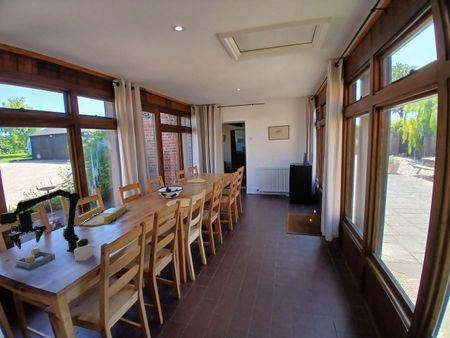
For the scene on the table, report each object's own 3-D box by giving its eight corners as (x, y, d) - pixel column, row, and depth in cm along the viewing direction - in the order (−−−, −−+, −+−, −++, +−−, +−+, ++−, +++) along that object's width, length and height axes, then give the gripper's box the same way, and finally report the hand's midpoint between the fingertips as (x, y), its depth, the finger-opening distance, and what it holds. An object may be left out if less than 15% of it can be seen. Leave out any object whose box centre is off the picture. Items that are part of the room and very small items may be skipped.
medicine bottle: (93, 255, 144) (91, 237, 143) (86, 260, 137) (84, 241, 136) (81, 255, 144) (79, 237, 143) (74, 261, 137) (72, 242, 136)
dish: (54, 258, 142) (54, 253, 142) (30, 269, 129) (29, 264, 129) (41, 255, 147) (40, 250, 146) (16, 265, 134) (15, 260, 134)
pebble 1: (36, 262, 136) (35, 255, 136) (28, 266, 132) (27, 258, 132) (32, 261, 138) (31, 254, 138) (24, 265, 134) (23, 257, 134)
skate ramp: (108, 227, 196) (106, 209, 195) (67, 229, 196) (65, 211, 194) (127, 214, 236) (125, 199, 235) (93, 215, 236) (92, 200, 234)
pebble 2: (41, 253, 149) (41, 247, 148) (34, 257, 145) (33, 250, 144) (37, 253, 150) (36, 246, 150) (30, 256, 146) (29, 249, 146)
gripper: (34, 215, 146) (37, 238, 147) (-3, 225, 128) (1, 251, 130) (45, 216, 142) (48, 240, 144) (9, 226, 125) (13, 253, 126)
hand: (29, 245), depth 136 cm, fingers open, 9 cm apart
